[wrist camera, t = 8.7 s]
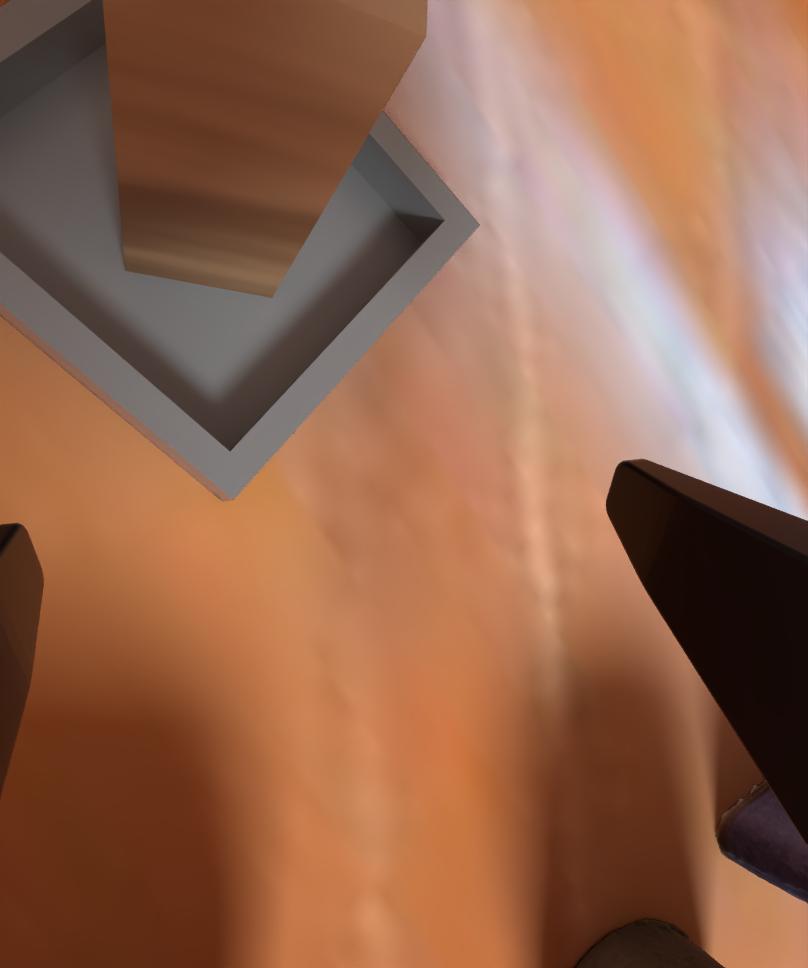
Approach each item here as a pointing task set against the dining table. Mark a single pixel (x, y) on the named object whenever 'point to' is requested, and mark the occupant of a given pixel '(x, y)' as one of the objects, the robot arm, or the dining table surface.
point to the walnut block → (243, 124)
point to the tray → (181, 305)
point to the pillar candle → (648, 949)
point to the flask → (765, 841)
